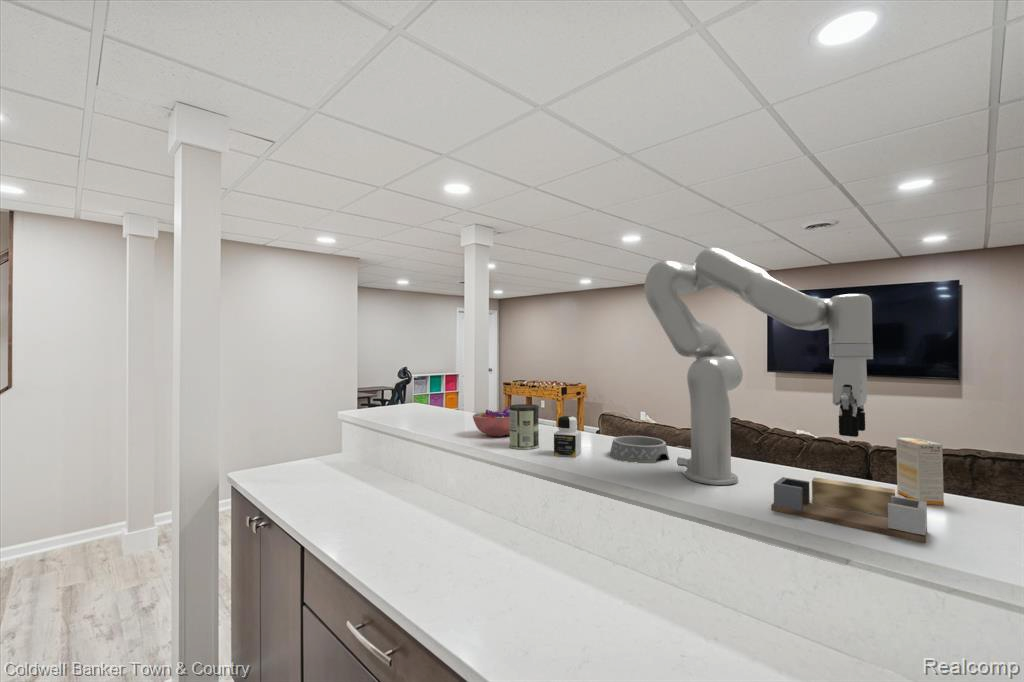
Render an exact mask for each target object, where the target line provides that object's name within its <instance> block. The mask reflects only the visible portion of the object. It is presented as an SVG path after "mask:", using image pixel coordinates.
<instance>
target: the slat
mask: <svg viewBox="0 0 1024 682" xmlns="http://www.w3.org/2000/svg"><path fill="white" fill-rule="evenodd" d="M891 496H896V489H895V488H887V487H882V486H874V485H868V484H861V483H855V482H853V483H852V482H848V481H841V480H833V479H827V478H821V477H814V476H813V478H812V480H811V503H812V504H817V505H823V506H828V507H833V508H838V509H843V510H849V511H854V512H860V513H866V514H871V515H872V514H873V515H878V516H884V517H888V503H891Z"/></svg>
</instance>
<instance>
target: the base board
mask: <svg viewBox="0 0 1024 682" xmlns="http://www.w3.org/2000/svg"><path fill="white" fill-rule="evenodd" d="M770 509H771V511H774V512H775V511H776V512H780V513H784V514H790V515H794V516H799V517H803V518H806V519H807V518H808V519H812V520H817V521H822V522H826V523H831V524H835V525H840V526H845V527H850V528H855V529H858V530H859V529H860V530H863V531H868V532H873V533H878V534H882V535H888V536H891V537H892V536H893V537H896V538H900V539H905V540H911V541H915V542H918V543H924V544H926V541H927V536H928V527H927V528H926V534H925V535H921V534H916V533H911V532H907V531H902V530H897V529H892V528H888V517H885V516H884V517H882V516H880V515H878V516H877V515H874V514H873V515H872V514H869V513H864V512H859V511H854V510H849V509H844V508H839V507H833V506H827V505H822V504H816V503H812V502H810V503H809V504H806V503H803V510H802V511H798V510H793V509H789V508H784V507H779V506H774V502H773V503H772V504H771V505H770Z"/></svg>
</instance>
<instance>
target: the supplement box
mask: <svg viewBox="0 0 1024 682" xmlns="http://www.w3.org/2000/svg"><path fill="white" fill-rule="evenodd" d="M895 441H896V442H895V443H896V444H895V445H896V475H897V476H896V483H897V484H896V486H897V488H896V489H897V493H898V494H899V495H901V496H903V497H905V498H909V499H915V500H921V501H927V505H937V506H944V503H945V502H944V501H945V499H944V496H945V495H944V494H945V493H944V461H943V457H944V455H943V454H944V453H943V452H944V451H943V444H941V443H937V442H934V441H929V440H927V439H922V438H920V437H919V438H918V437H896V440H895Z"/></svg>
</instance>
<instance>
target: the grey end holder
mask: <svg viewBox="0 0 1024 682" xmlns="http://www.w3.org/2000/svg"><path fill="white" fill-rule="evenodd" d="M810 495H811V494H810V481H808V480H803V479H802V480H801V479H796V478H790V477H784V476H782V477H781V478H779V479H778V480H777V481H776V482H774V483H773V503H774V506H779V507H784V508H789V509H793V510H798V511H802V510H803V503H806V504H809V503H811V501H810V498H811V497H810Z"/></svg>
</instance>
